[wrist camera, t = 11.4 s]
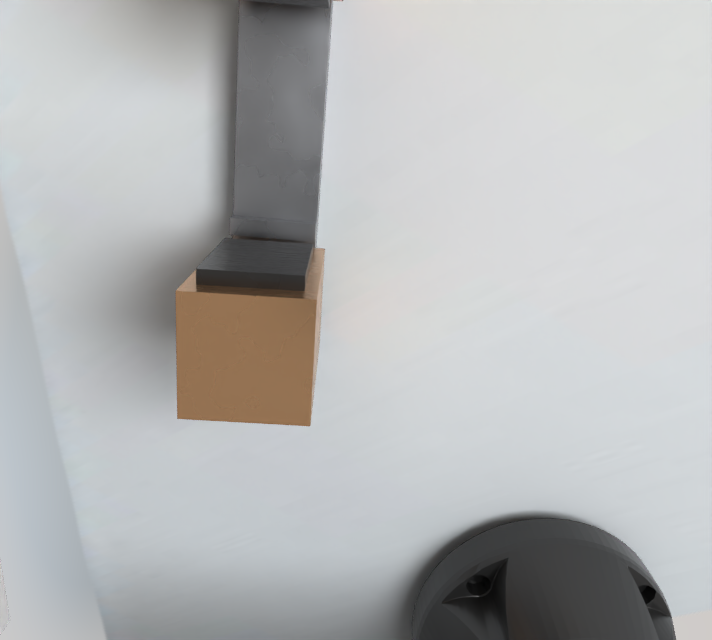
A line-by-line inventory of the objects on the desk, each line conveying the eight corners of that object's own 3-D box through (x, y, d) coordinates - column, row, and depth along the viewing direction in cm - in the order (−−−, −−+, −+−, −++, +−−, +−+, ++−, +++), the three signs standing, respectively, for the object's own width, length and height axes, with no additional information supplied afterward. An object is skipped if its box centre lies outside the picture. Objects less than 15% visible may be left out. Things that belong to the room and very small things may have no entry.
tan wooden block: (319, 345, 33) (310, 426, 25) (221, 339, 33) (177, 418, 25) (325, 236, 32) (317, 283, 23) (221, 229, 31) (175, 274, 23)
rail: (317, 358, 36) (306, 461, 25) (225, 351, 35) (175, 452, 25) (355, -156, 28) (360, -311, 18) (239, -168, 28) (177, -333, 18)
